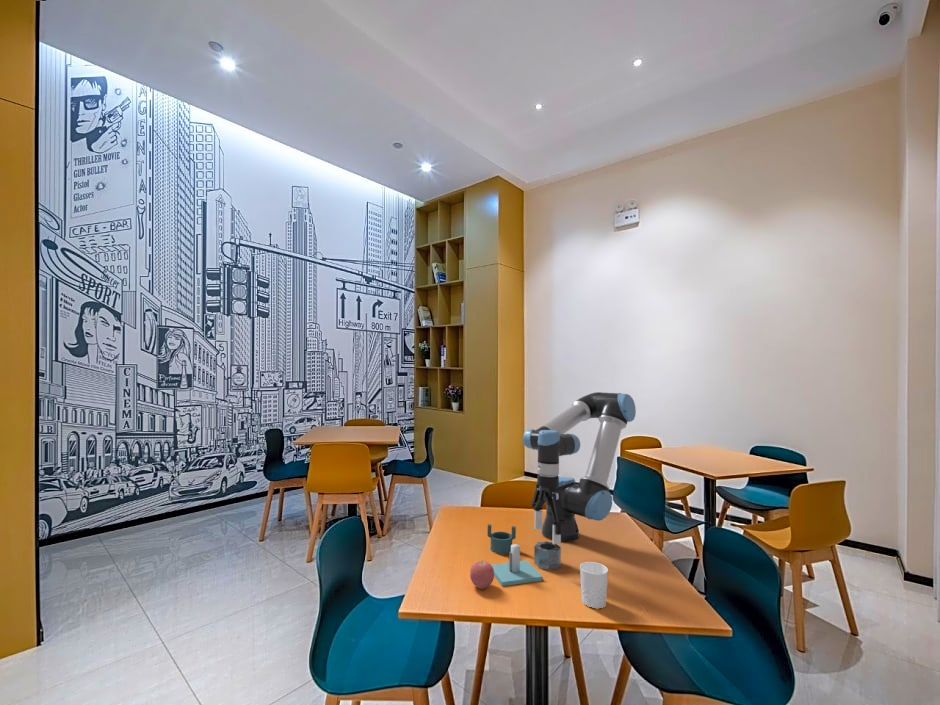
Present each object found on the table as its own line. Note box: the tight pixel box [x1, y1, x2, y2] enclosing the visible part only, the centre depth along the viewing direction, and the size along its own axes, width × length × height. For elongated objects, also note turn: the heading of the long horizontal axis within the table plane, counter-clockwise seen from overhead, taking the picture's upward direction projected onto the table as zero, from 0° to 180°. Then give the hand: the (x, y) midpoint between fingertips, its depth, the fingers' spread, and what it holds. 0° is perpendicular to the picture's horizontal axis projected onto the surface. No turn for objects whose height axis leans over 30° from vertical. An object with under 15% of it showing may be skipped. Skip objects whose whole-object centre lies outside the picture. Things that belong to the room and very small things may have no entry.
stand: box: [491, 543, 544, 587], centre depth 136 cm, size 14×12×9 cm
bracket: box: [487, 523, 517, 555], centre depth 156 cm, size 9×9×9 cm
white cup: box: [579, 561, 609, 609], centre depth 120 cm, size 8×8×10 cm
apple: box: [469, 560, 495, 589], centre depth 128 cm, size 7×7×8 cm
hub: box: [533, 541, 562, 571], centre depth 144 cm, size 8×8×6 cm
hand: (546, 536), depth 144 cm, fingers open, 13 cm apart
